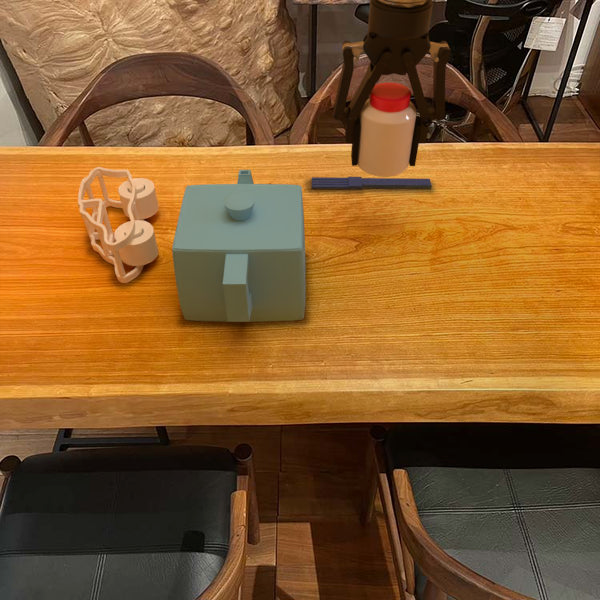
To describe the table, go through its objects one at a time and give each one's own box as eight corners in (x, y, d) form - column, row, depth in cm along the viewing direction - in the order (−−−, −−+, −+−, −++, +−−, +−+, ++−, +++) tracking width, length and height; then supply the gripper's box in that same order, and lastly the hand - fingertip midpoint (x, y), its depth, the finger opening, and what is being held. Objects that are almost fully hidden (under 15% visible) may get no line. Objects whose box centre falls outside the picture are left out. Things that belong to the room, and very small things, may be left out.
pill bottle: (346, 166, 86) (351, 95, 78) (371, 142, 90) (378, 73, 82) (394, 183, 83) (404, 111, 75) (417, 157, 87) (429, 87, 80)
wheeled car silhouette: (160, 279, 86) (151, 241, 81) (83, 287, 85) (69, 249, 80) (160, 198, 100) (152, 161, 95) (94, 205, 99) (82, 167, 93)
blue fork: (429, 180, 103) (429, 177, 103) (431, 190, 102) (431, 186, 101) (311, 180, 104) (311, 176, 103) (311, 189, 102) (311, 185, 101)
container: (177, 347, 77) (156, 261, 66) (199, 227, 95) (185, 143, 83) (306, 347, 77) (307, 260, 66) (304, 227, 95) (305, 142, 84)
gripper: (482, -15, 72) (448, 147, 89) (315, -16, 73) (313, 146, 89) (495, 8, 67) (456, 176, 84) (315, 7, 67) (312, 174, 84)
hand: (382, 160), depth 86 cm, fingers closed on pill bottle, 8 cm apart
